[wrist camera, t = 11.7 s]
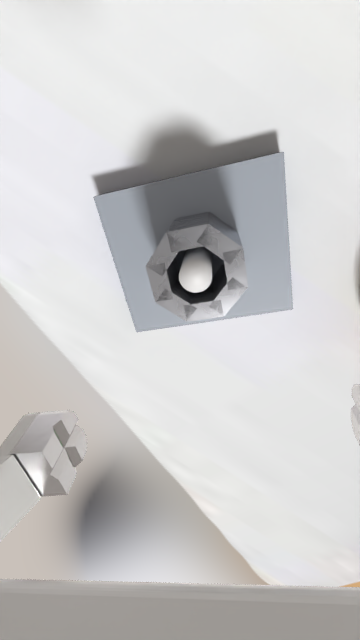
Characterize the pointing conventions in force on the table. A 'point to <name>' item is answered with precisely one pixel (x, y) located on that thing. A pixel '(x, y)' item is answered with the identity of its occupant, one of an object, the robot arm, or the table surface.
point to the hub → (224, 282)
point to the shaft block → (200, 263)
